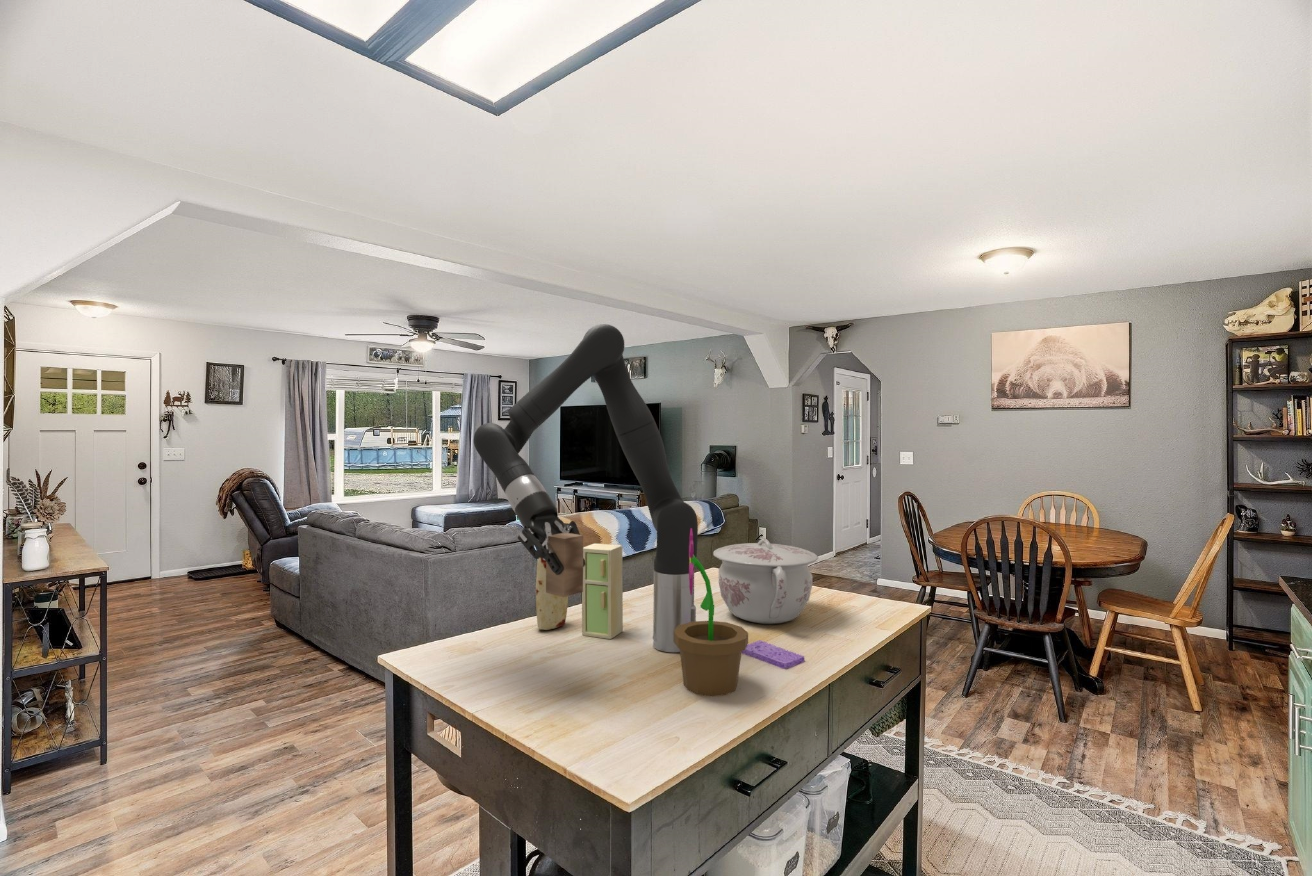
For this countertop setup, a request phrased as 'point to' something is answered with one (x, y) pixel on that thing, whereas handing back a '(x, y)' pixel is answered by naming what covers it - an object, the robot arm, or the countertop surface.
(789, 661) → the sponges
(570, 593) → the walnut block
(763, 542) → the chamber pot
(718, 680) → the flowerpot
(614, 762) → the countertop surface
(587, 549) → the toy refrigerator
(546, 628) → the food model
